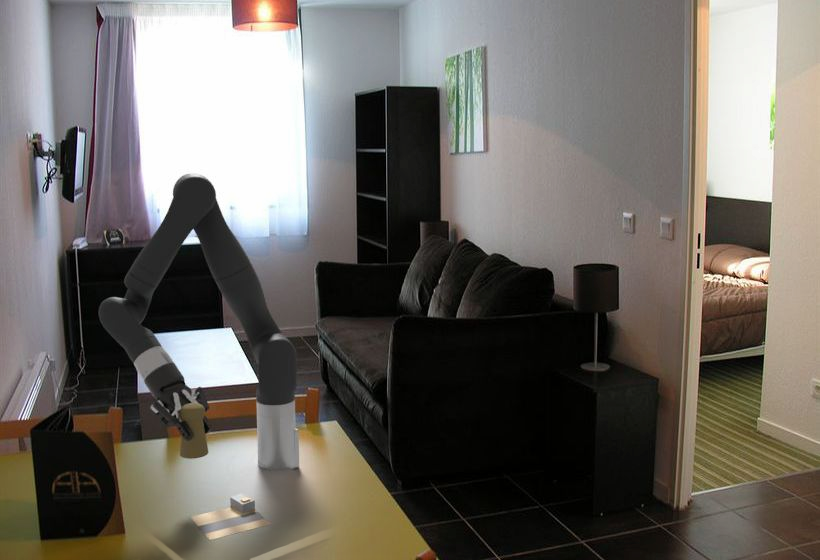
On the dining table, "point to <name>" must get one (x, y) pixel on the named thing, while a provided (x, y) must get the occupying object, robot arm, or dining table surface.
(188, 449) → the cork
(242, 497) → the block
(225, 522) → the plywood board
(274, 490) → the dining table surface
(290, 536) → the dining table surface
